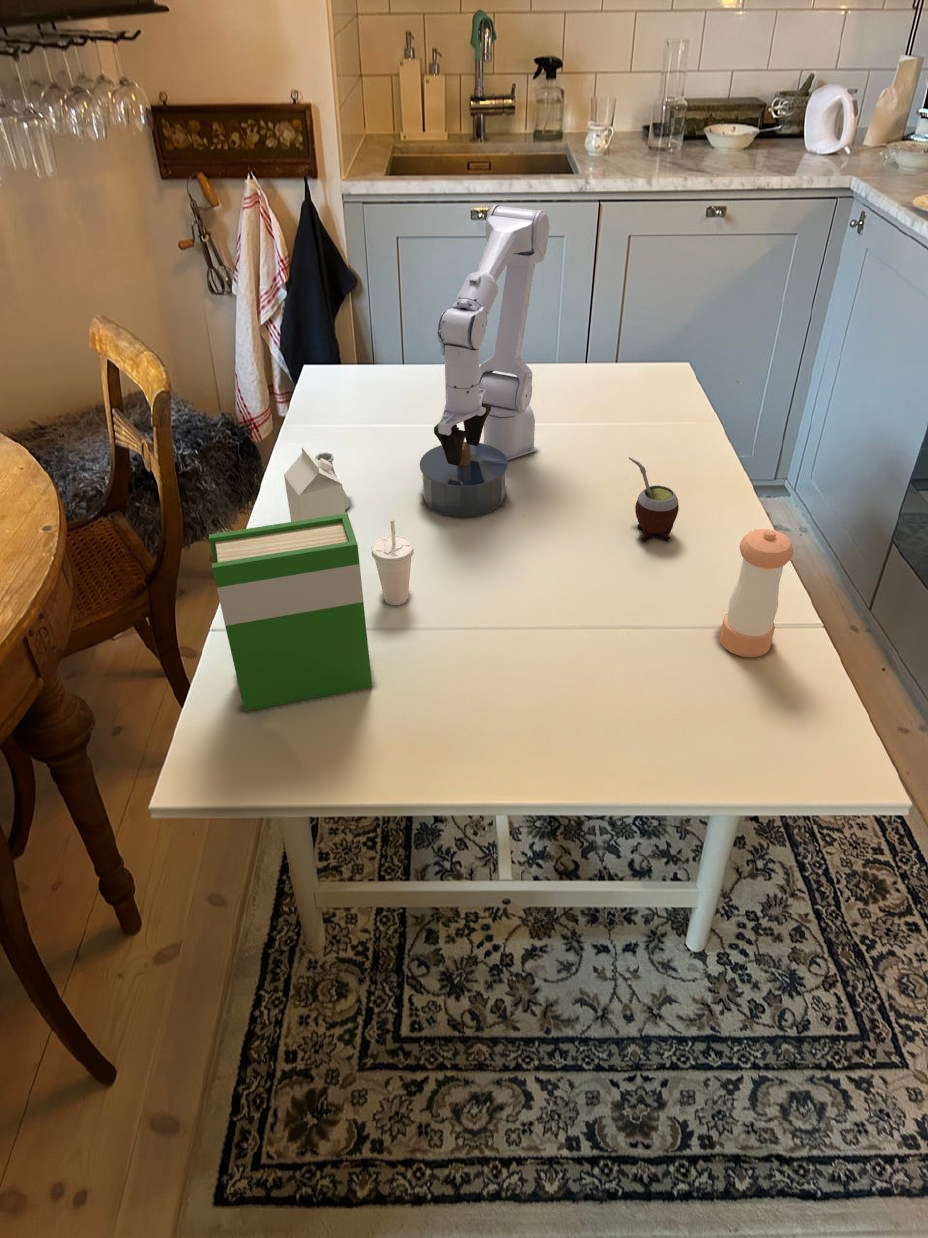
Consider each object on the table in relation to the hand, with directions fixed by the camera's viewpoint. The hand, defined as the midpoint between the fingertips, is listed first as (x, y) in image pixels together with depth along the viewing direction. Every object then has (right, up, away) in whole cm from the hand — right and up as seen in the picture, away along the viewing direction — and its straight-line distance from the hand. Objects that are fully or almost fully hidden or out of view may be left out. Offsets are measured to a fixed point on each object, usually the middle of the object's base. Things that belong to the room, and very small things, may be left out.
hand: (463, 453), depth 165 cm
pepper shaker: (+41, -32, -27) cm, 59 cm away
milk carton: (-23, -19, -9) cm, 32 cm away
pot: (0, -7, +5) cm, 8 cm away
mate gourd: (+32, -15, -5) cm, 36 cm away
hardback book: (-22, -38, -33) cm, 55 cm away
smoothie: (-11, -26, -18) cm, 33 cm away
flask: (-24, -9, +3) cm, 26 cm away
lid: (0, -2, +1) cm, 2 cm away
